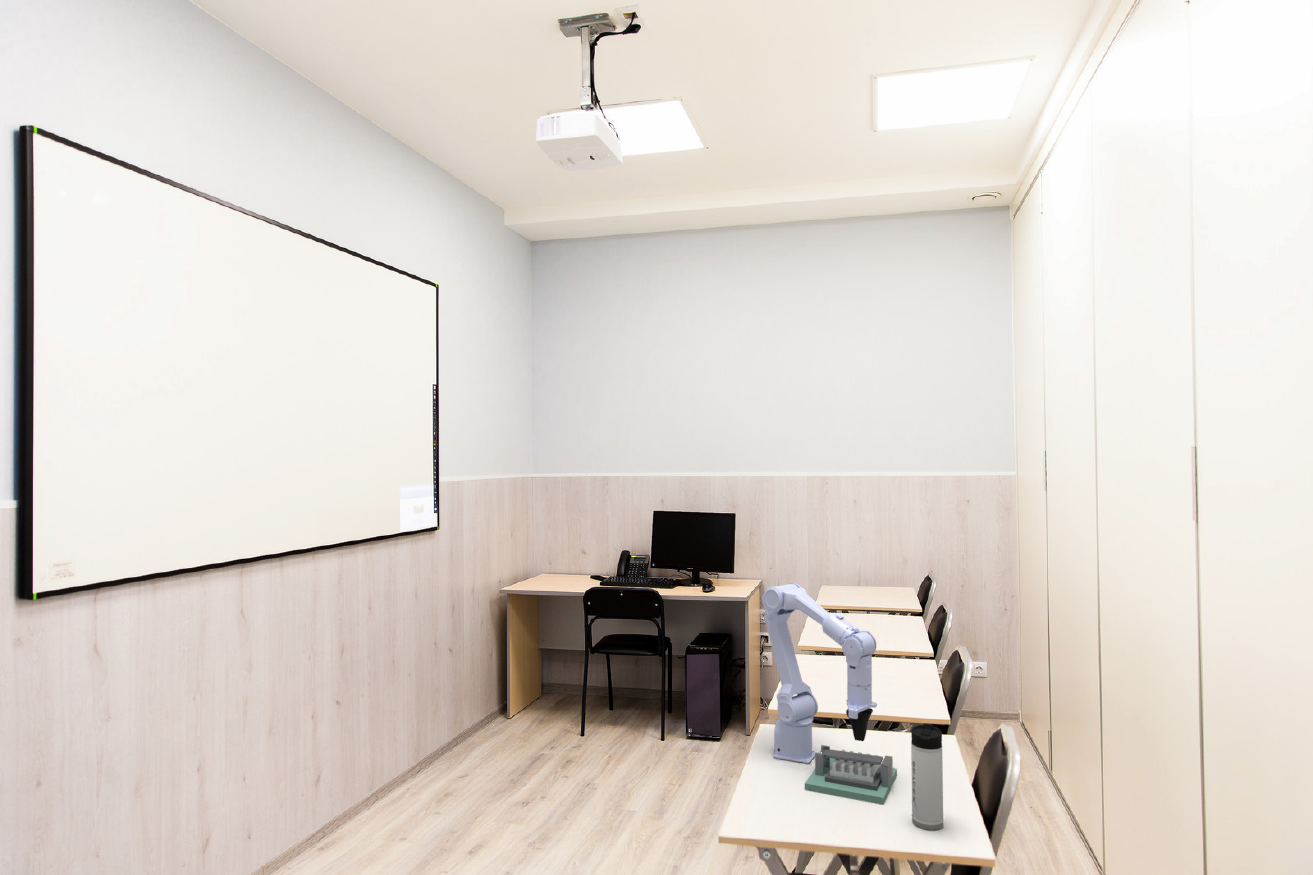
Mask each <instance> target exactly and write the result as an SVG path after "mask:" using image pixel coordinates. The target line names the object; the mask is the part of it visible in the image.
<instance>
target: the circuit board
mask: <svg viewBox="0 0 1313 875" xmlns="http://www.w3.org/2000/svg"><path fill="white" fill-rule="evenodd" d="M834 761H835V759H833V758H830V767H829V768H827V767H824V776H819V775H815V768H814V769H813V771H812V772H811V774H809V776H808V778H807V780H805V782H804V790H805V791H809V792H813V793H814V792H815V793H821V794H825V795H831V796H836V797H840V798H841V797H842V798H846V799H853V800H856V801H857V800H858V801H862V802H863V801H864V802H868V803H873V804H878V805H884V804H885V802H886V801H887V798H888V796H889V794H890V792H891V789H892V788H893V784H894V782H895V780H896V778H897V776H898V769H897V768H894V767H893V778H892V781H891V783H890V785H889V787H882V786H881V770H880V772H879V774H878V776H877V778H876V780H875V782H874V784H870V783H864V782H859V781H853V780H848V779H842V778H836V777H831V776H830V769H831V768H832V764H833V762H834Z"/></svg>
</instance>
